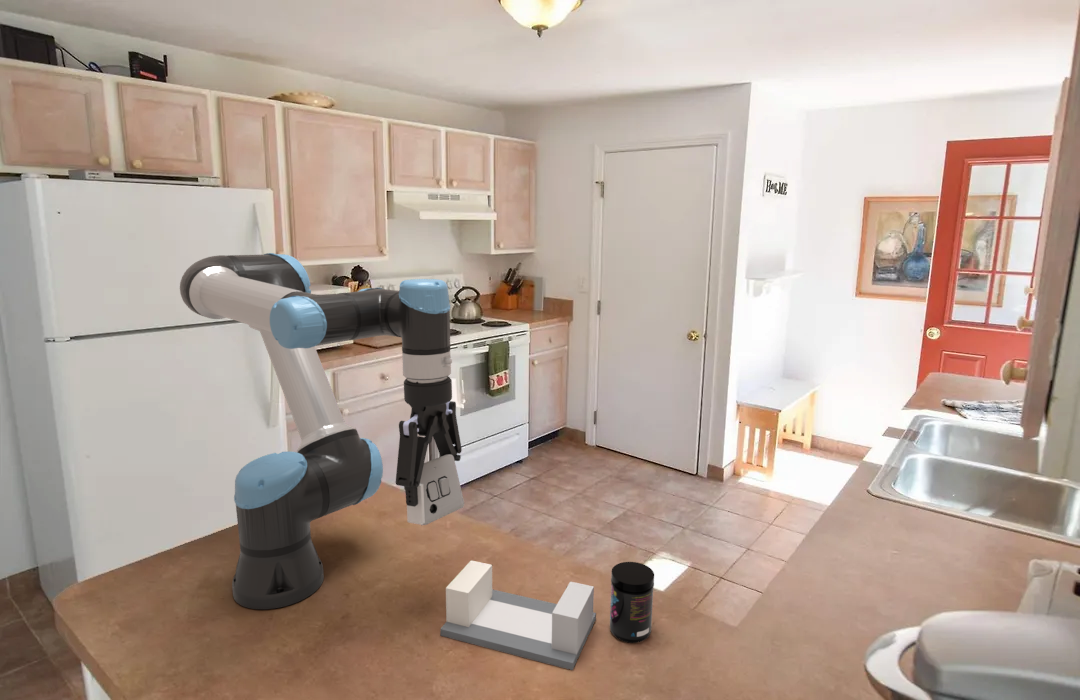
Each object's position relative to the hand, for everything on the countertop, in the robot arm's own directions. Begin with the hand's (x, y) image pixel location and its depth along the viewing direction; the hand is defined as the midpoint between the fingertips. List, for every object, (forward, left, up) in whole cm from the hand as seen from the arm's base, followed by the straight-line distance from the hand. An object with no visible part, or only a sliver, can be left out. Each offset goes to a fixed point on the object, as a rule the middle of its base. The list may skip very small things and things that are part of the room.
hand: (432, 509), depth 103 cm
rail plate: (+16, 0, -18) cm, 24 cm away
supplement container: (+33, +6, -18) cm, 38 cm away
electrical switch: (0, 0, -1) cm, 1 cm away
